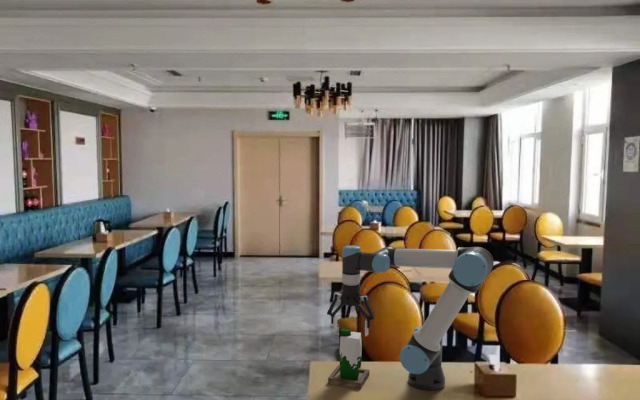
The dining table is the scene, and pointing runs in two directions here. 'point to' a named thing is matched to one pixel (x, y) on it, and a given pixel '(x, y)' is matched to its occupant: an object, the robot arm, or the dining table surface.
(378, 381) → the dining table surface
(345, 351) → the soya milk
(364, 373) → the walnut tray
